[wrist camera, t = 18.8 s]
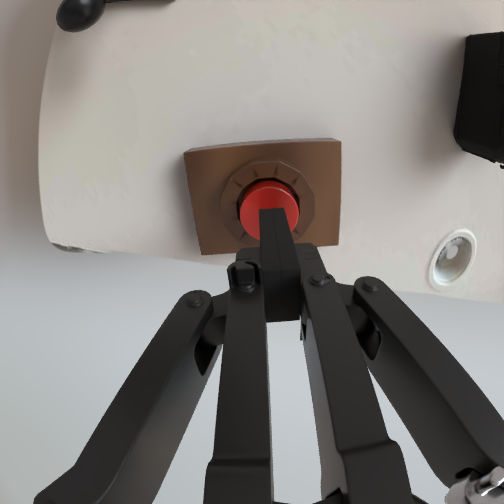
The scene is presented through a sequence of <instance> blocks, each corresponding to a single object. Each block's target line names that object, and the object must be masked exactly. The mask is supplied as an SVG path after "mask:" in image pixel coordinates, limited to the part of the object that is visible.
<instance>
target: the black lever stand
mask: <svg viewBox="0 0 504 504" xmlns="http://www.w3.org/2000/svg"><path fill="white" fill-rule="evenodd" d="M105 1H106V3H110V2H118V1H129V0H105Z"/></svg>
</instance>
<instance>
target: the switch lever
mask: <svg viewBox="0 0 504 504" xmlns="http://www.w3.org/2000/svg"><path fill="white" fill-rule="evenodd" d="M105 5H106V1H105V0H63V2H62V3H61V4H60V6H59V8H58V11H57V15H56V20H57V23H58V25H59V27H60V28H61V29H63V30H64V31H67V32H80V31H83V30H86V29H88V28H89V27H91V26H92V25H94V24H95V23H96V22H97V21H98V20H99V19H100V17H101V16H102V14H103V12H104V10H105Z"/></svg>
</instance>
